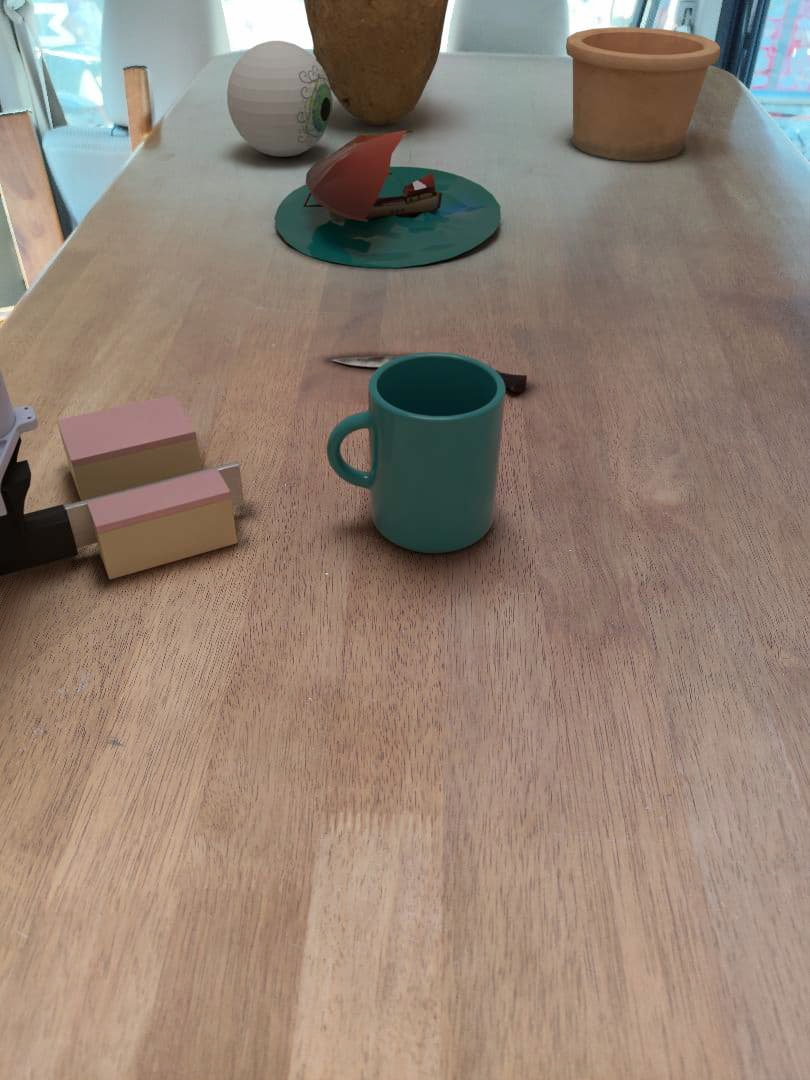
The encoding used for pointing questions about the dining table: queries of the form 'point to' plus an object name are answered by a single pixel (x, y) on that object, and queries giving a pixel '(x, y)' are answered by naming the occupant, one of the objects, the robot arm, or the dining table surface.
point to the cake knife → (84, 525)
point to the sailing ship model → (384, 209)
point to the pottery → (636, 89)
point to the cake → (129, 446)
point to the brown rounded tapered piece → (377, 52)
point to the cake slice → (163, 523)
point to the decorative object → (279, 98)
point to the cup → (429, 450)
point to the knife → (510, 380)
